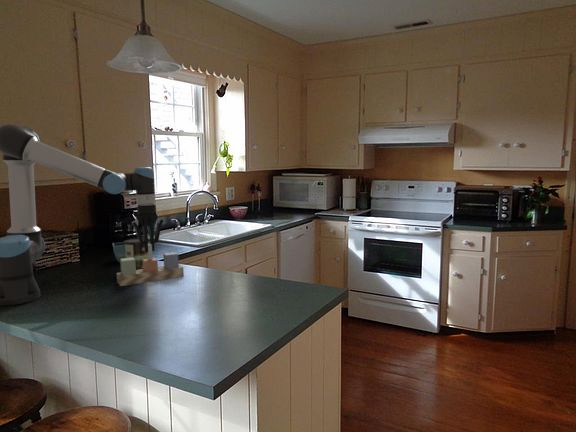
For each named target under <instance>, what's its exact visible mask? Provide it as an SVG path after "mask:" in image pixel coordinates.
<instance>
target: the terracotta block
mask: <svg viewBox="0 0 576 432" xmlns="http://www.w3.org/2000/svg"><path fill="white" fill-rule="evenodd" d="M158 267H159V266H158V260H157V259H156V258H155V257H153V260H148V259H143V271H144V272H152V271H158Z"/></svg>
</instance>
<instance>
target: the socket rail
mask: <svg viewBox="0 0 576 432" xmlns="http://www.w3.org/2000/svg"><path fill="white" fill-rule="evenodd" d="M184 275H185V274H184V267H183V266H182V265H180V264H179V268H172V269H166V268H164V265H163V266H158V271H152V272H144V271H143V269H141V270H136V274H132V275H125V276H123V275H122V274H121V271H120V272H116V282H117V284H118V285H119V287H124V286H129V285H130V286H131V285H136V284H137V285H138V284H143V283H144V284H145V283H149V282H155V281H161V280H162V281H163V280H167V279H168V280H169V279H174V278H182V277H184Z"/></svg>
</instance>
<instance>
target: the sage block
mask: <svg viewBox="0 0 576 432" xmlns="http://www.w3.org/2000/svg"><path fill="white" fill-rule="evenodd" d="M119 264H120V272H121V274H122V275H123V276H125V275H132V274H136V264H135V259H134V258H133V257H131V258H123V259H120V262H119Z"/></svg>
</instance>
